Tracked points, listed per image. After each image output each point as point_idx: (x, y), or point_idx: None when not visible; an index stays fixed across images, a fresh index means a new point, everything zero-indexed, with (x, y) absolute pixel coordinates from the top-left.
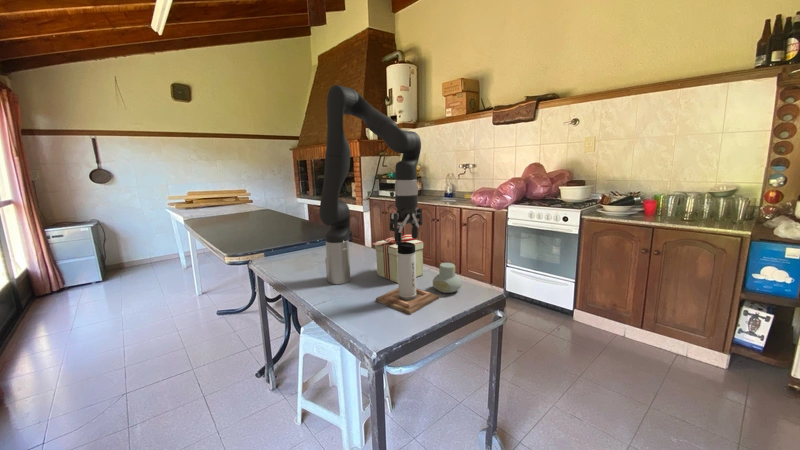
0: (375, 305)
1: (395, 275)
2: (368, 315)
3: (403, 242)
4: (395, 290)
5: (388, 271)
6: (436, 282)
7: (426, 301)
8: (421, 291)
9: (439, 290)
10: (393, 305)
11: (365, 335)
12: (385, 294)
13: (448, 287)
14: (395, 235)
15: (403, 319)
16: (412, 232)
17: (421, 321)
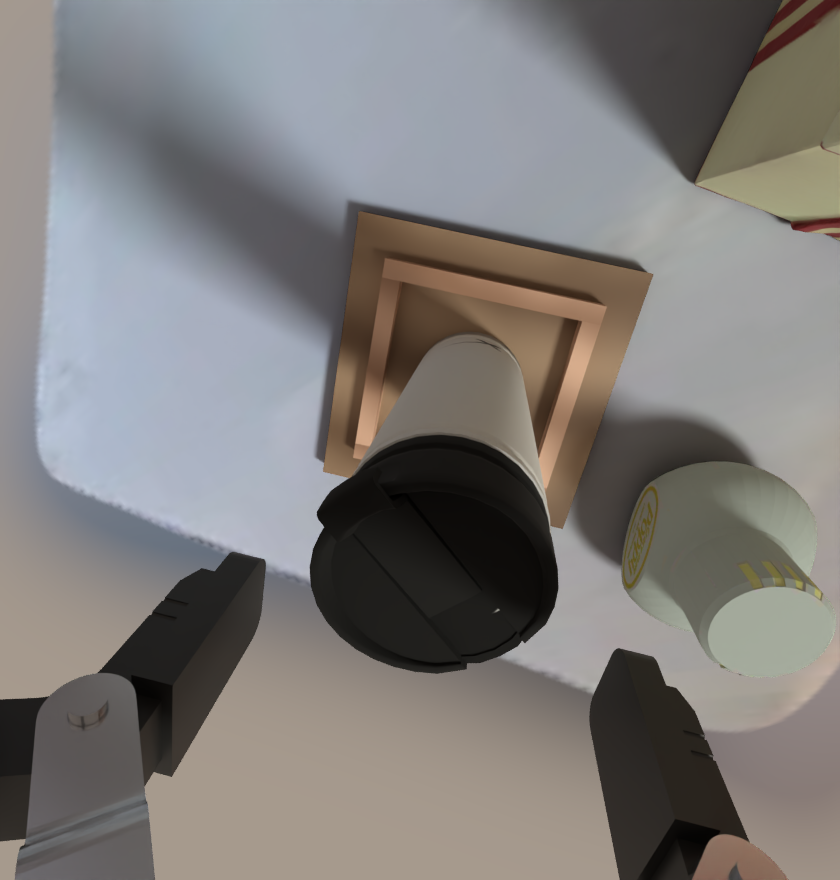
0: (313, 248)
1: (733, 144)
2: (205, 286)
3: (509, 516)
4: (487, 289)
5: (795, 23)
6: (653, 513)
7: None
8: (544, 444)
9: (634, 509)
10: (338, 363)
11: (78, 381)
12: (400, 262)
13: (627, 578)
14: (126, 656)
15: (273, 457)
16: (638, 731)
17: (302, 528)
